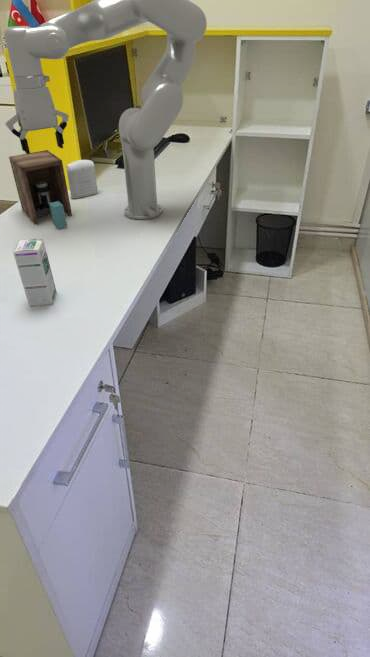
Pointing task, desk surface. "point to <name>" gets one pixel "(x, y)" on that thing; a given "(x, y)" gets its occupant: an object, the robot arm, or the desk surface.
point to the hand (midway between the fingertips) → (44, 150)
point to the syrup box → (35, 271)
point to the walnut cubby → (39, 169)
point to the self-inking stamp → (43, 194)
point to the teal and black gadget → (53, 213)
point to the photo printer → (82, 178)
